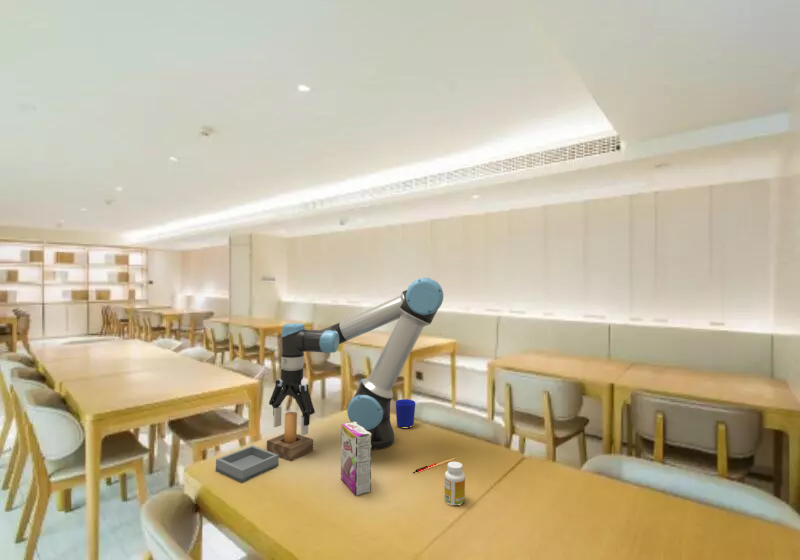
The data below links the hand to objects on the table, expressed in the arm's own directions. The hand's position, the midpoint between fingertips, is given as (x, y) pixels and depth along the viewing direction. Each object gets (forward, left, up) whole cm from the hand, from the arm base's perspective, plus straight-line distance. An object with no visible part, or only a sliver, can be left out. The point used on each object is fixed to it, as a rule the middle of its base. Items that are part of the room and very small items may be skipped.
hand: (290, 430), depth 133 cm
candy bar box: (-33, +5, -8) cm, 34 cm away
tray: (+1, +16, -7) cm, 18 cm away
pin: (0, 0, -7) cm, 7 cm away
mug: (-18, -46, -8) cm, 50 cm away
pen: (-46, -20, -8) cm, 51 cm away
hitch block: (0, 0, -7) cm, 7 cm away
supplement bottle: (-60, -4, -8) cm, 61 cm away
